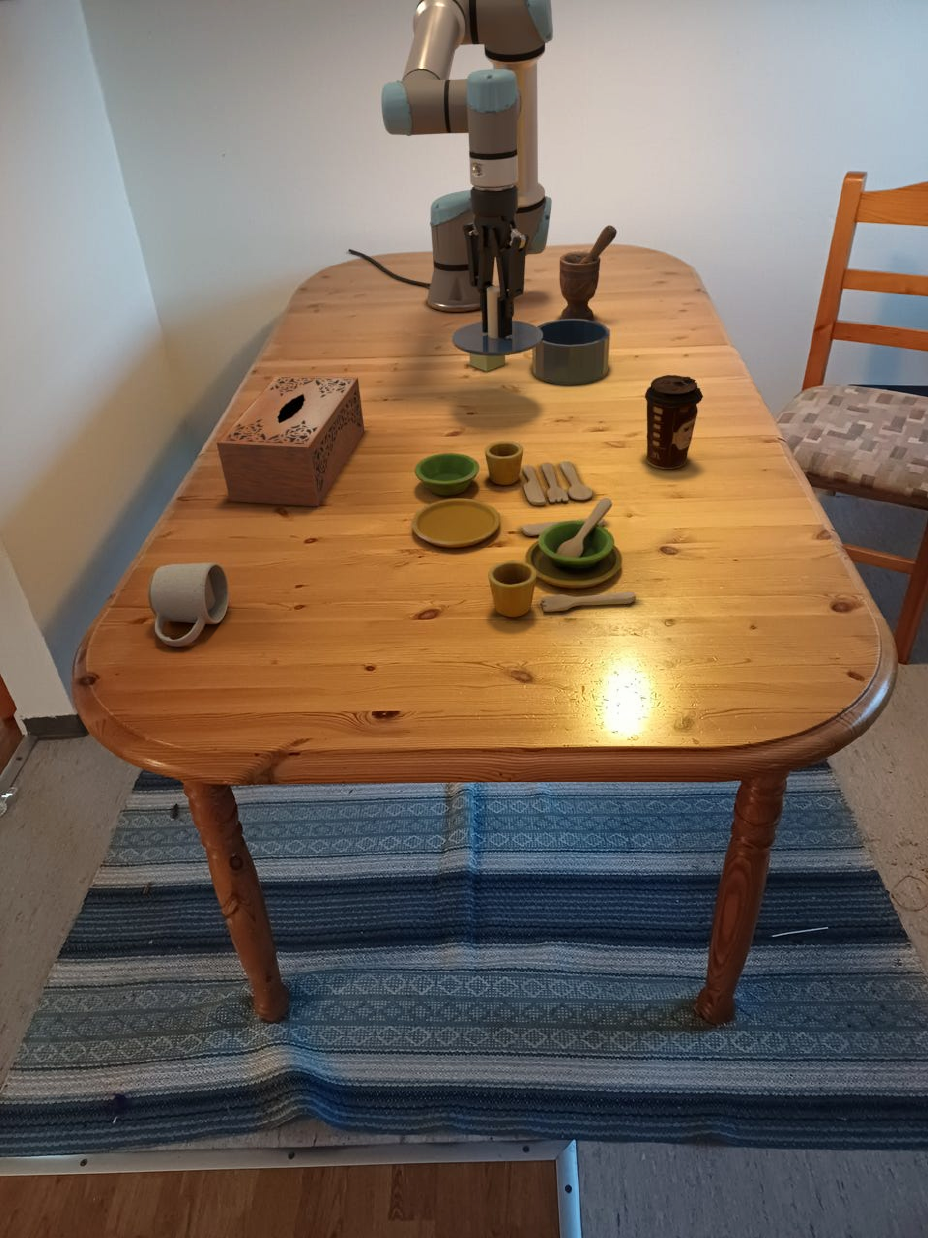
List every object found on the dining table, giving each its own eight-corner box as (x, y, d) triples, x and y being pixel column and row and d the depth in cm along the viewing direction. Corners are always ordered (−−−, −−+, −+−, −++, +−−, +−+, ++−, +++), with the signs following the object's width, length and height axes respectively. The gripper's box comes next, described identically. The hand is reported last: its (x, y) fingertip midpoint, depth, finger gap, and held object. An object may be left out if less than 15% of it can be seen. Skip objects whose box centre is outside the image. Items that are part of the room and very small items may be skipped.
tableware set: (644, 610, 113) (648, 568, 109) (424, 633, 111) (420, 591, 107) (576, 459, 145) (577, 423, 141) (405, 475, 144) (402, 439, 140)
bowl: (516, 371, 176) (516, 333, 171) (568, 350, 183) (569, 313, 179) (571, 391, 167) (572, 352, 162) (623, 368, 174) (626, 330, 170)
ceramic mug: (175, 597, 119) (160, 549, 115) (234, 599, 118) (221, 551, 114) (144, 649, 111) (126, 600, 106) (207, 651, 110) (192, 602, 105)
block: (469, 365, 179) (468, 330, 175) (488, 358, 182) (487, 323, 177) (486, 371, 176) (485, 336, 172) (505, 364, 179) (504, 329, 174)
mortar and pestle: (611, 312, 200) (616, 217, 188) (611, 326, 193) (617, 228, 181) (558, 313, 201) (560, 218, 189) (558, 326, 194) (559, 229, 182)
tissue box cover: (318, 506, 137) (308, 447, 131) (230, 501, 140) (216, 442, 134) (364, 432, 157) (357, 377, 151) (286, 428, 160) (277, 374, 153)
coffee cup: (698, 452, 145) (707, 375, 138) (691, 475, 139) (700, 397, 131) (644, 446, 148) (650, 370, 140) (635, 469, 142) (641, 391, 134)
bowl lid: (433, 343, 157) (430, 290, 151) (499, 320, 165) (498, 268, 159) (495, 366, 147) (494, 310, 141) (562, 340, 155) (563, 286, 149)
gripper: (442, 182, 144) (450, 327, 158) (512, 197, 134) (514, 350, 148) (476, 174, 147) (481, 316, 162) (548, 187, 137) (546, 338, 152)
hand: (497, 332), depth 155 cm, fingers closed on bowl lid, 3 cm apart
